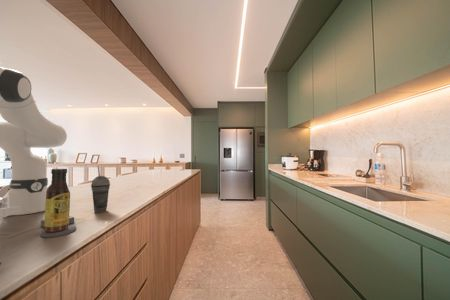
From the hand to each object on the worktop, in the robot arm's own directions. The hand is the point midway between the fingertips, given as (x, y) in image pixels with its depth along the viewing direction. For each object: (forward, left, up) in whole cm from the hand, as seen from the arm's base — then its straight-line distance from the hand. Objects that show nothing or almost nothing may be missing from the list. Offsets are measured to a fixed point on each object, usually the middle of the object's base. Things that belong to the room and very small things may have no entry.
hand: (11, 206), depth 56 cm
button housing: (-9, +15, -11) cm, 21 cm away
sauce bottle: (-1, +11, -10) cm, 15 cm away
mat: (0, +11, -11) cm, 16 cm away
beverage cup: (-11, +32, -11) cm, 36 cm away
